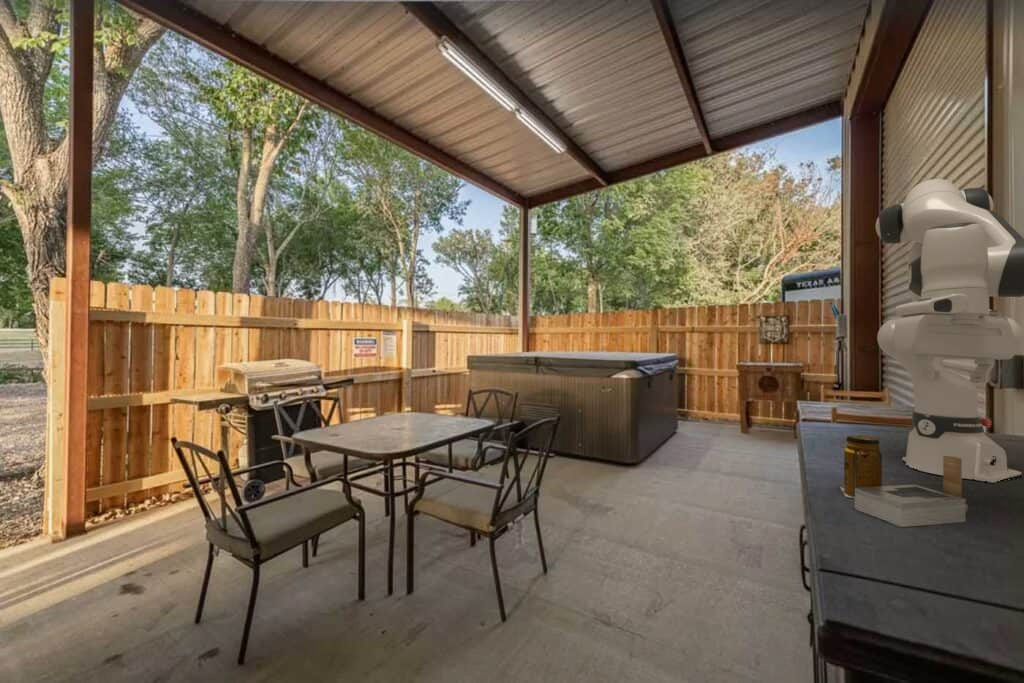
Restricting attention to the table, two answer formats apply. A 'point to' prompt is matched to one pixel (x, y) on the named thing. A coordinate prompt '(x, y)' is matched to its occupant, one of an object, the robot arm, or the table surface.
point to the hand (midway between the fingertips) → (955, 381)
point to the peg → (953, 477)
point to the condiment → (861, 464)
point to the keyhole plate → (910, 514)
